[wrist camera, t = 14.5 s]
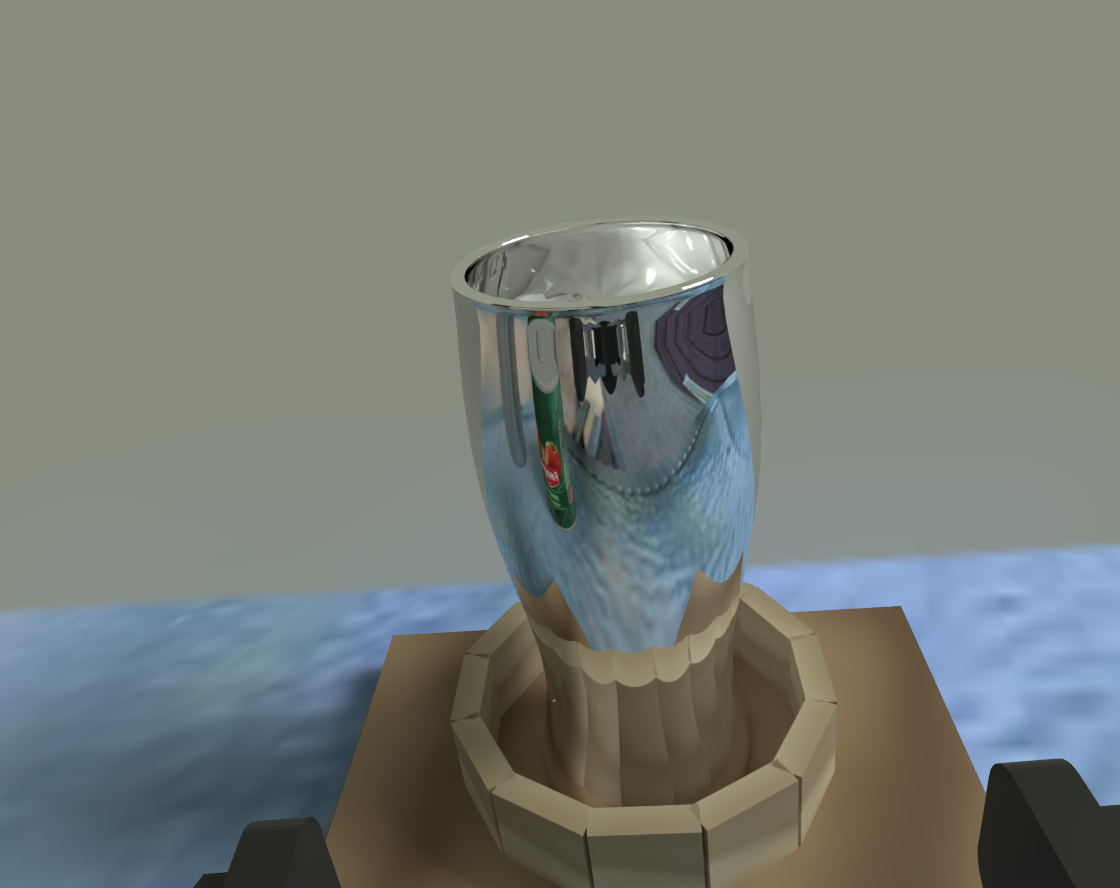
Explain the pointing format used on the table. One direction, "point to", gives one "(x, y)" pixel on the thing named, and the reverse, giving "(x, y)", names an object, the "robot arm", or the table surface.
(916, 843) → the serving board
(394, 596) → the table surface
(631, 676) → the beer glass
